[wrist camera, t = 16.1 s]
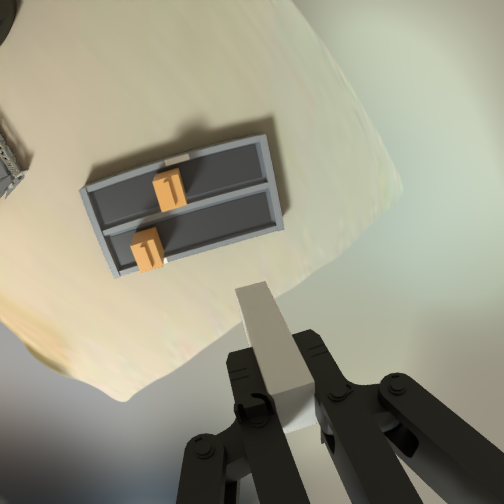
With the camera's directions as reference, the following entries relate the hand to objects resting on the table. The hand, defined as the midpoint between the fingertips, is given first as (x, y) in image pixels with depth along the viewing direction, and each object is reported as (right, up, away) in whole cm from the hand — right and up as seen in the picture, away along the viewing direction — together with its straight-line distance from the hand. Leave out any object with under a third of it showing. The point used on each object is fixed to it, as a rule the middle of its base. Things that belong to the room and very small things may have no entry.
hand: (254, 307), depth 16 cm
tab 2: (-11, +12, +26) cm, 30 cm away
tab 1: (-15, +4, +28) cm, 32 cm away
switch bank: (-10, +10, +29) cm, 33 cm away
